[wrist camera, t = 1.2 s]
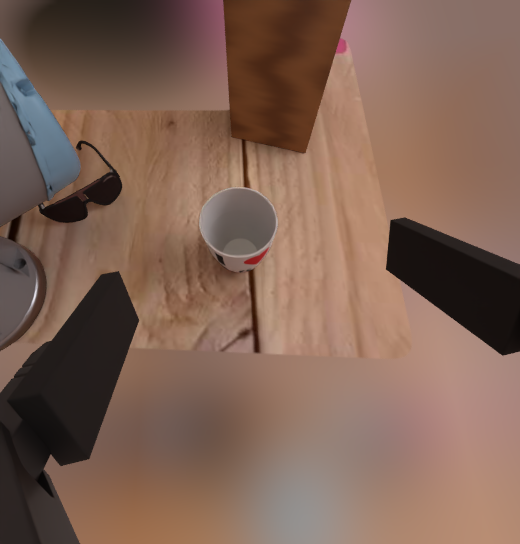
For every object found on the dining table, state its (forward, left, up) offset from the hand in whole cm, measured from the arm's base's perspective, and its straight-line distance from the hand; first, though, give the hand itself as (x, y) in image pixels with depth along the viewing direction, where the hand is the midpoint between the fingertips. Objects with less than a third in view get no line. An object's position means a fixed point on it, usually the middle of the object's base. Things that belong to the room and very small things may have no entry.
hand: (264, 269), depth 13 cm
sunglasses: (-29, +14, -23) cm, 39 cm away
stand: (-4, +34, -23) cm, 41 cm away
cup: (-4, +9, -23) cm, 25 cm away
